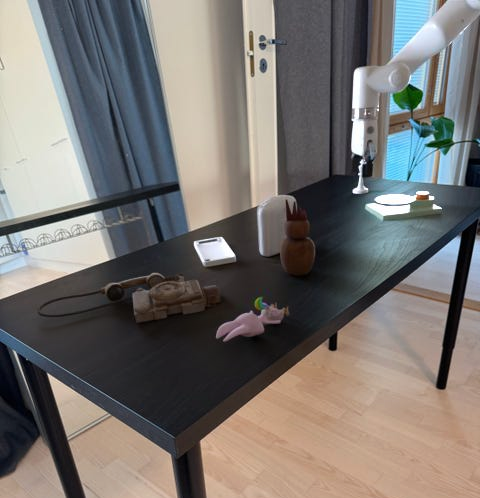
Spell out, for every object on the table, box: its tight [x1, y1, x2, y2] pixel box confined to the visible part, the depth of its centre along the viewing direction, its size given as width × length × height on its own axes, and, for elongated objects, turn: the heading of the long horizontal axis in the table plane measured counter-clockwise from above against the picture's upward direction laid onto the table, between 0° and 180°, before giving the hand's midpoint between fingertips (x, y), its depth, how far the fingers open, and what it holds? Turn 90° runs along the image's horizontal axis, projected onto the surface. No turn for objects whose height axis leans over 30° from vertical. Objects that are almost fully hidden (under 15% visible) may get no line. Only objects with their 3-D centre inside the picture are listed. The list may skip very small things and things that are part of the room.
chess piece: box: [352, 159, 369, 195], centre depth 133 cm, size 5×5×10 cm
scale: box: [364, 195, 443, 222], centre depth 114 cm, size 16×12×3 cm
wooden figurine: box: [279, 199, 316, 277], centre depth 81 cm, size 7×6×15 cm
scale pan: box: [374, 194, 414, 207], centre depth 112 cm, size 10×10×1 cm
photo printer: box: [256, 194, 298, 257], centre depth 94 cm, size 10×4×12 cm, turn 132°
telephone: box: [37, 272, 222, 324], centre depth 77 cm, size 15×33×4 cm, turn 105°
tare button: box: [415, 190, 430, 200], centre depth 113 cm, size 3×3×2 cm
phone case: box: [193, 236, 237, 268], centre depth 98 cm, size 7×1×15 cm
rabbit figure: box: [215, 296, 290, 343], centre depth 65 cm, size 6×6×15 cm
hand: (361, 174), depth 133 cm, fingers open, 8 cm apart
